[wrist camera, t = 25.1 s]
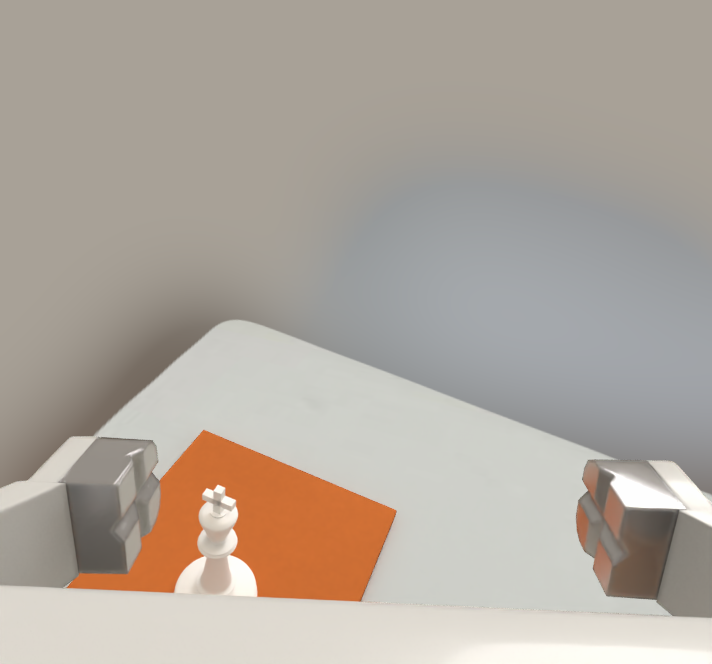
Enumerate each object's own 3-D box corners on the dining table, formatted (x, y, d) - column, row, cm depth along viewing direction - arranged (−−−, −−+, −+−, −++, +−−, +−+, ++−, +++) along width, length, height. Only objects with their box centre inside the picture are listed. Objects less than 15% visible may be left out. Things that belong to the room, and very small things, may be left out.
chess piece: (232, 651, 34) (239, 547, 28) (155, 615, 35) (147, 507, 29) (271, 577, 38) (284, 472, 32) (201, 547, 38) (202, 439, 33)
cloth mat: (203, 434, 47) (203, 429, 46) (395, 515, 44) (396, 510, 43) (-45, 722, 30) (-47, 717, 29) (242, 891, 26) (243, 888, 26)
